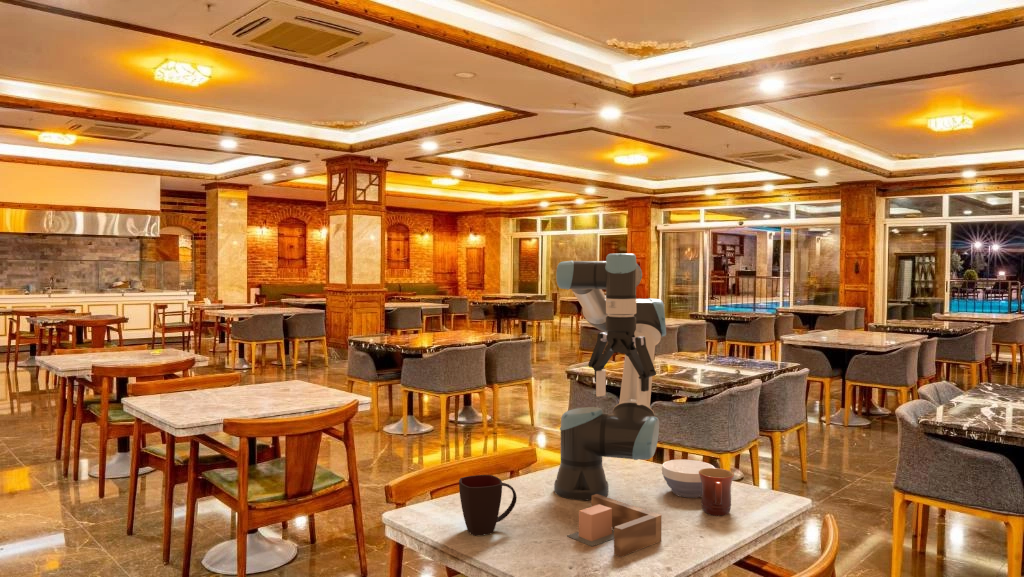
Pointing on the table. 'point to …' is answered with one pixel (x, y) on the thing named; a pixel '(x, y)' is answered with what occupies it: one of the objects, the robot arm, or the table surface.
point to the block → (595, 522)
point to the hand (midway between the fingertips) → (620, 400)
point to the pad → (594, 542)
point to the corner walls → (631, 525)
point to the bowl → (684, 477)
